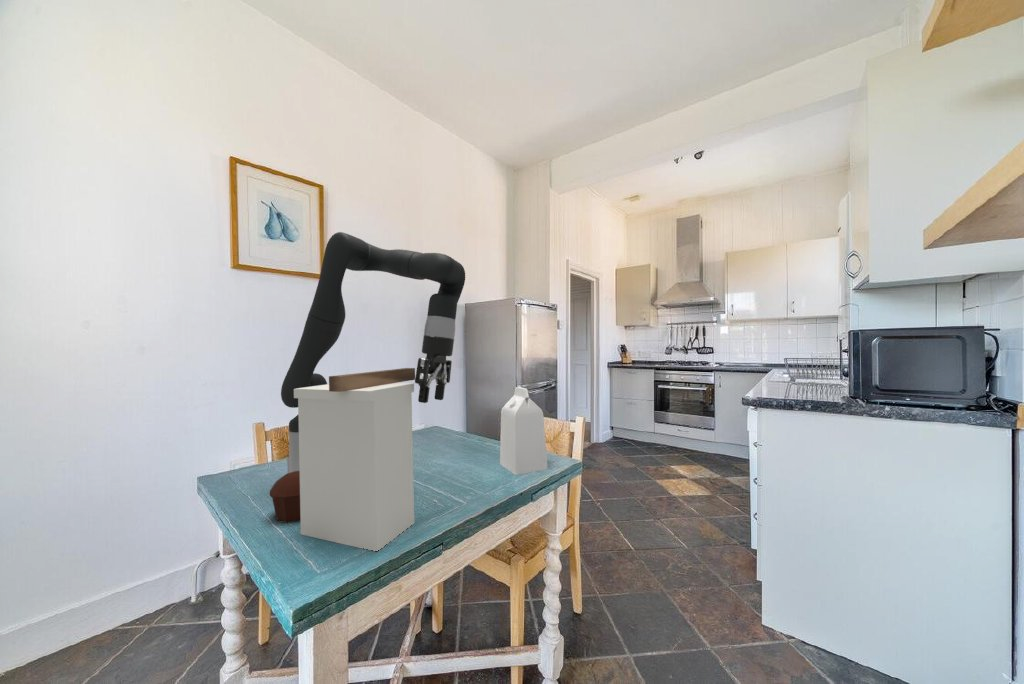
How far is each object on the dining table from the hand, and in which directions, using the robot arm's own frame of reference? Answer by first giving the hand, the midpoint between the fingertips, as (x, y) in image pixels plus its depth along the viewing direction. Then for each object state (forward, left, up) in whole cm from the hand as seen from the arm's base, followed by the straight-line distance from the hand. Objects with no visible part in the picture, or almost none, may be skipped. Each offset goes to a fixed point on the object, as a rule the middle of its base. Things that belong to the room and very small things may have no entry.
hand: (431, 401), depth 89 cm
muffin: (-31, -12, -27) cm, 43 cm away
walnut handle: (-7, -10, +5) cm, 14 cm away
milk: (+11, +37, -27) cm, 47 cm away
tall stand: (-11, -13, -27) cm, 32 cm away
